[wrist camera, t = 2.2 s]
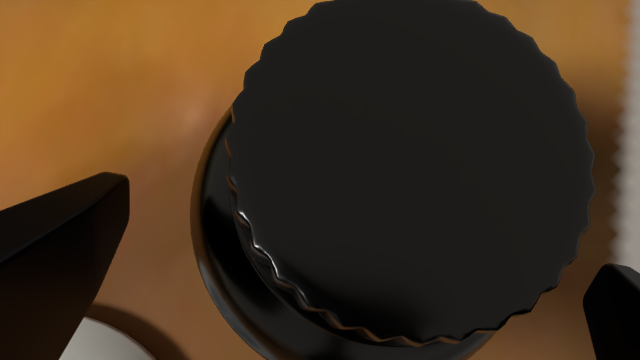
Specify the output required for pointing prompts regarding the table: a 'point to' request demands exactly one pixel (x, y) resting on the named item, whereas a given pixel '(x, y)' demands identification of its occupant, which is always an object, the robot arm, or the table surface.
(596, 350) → the robot arm
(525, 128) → the supplement bottle
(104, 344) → the coaster
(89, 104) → the table surface
